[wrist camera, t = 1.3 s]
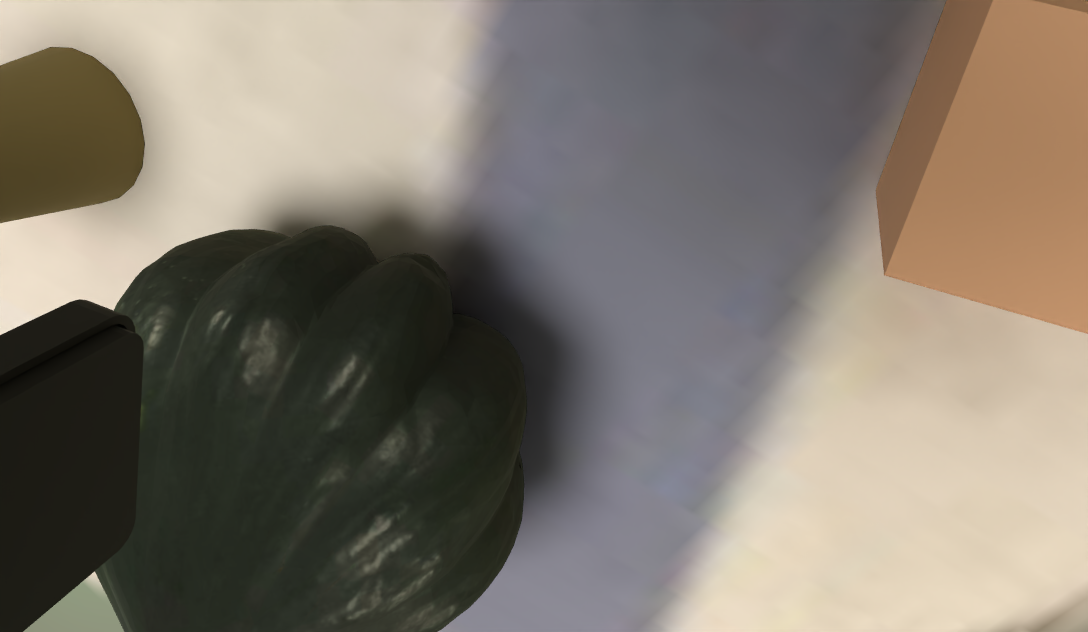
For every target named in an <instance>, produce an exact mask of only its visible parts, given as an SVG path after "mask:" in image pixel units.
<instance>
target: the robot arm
mask: <svg viewBox="0 0 1088 632" xmlns="http://www.w3.org/2000/svg"><path fill="white" fill-rule="evenodd" d="M143 355H144V345H143V340H142V338H141V336H140V335H138V334H137V333H136V331H135V325H134V323H133V321H132V320H131V319H130V318H129V317H128V316H126V315H123V314H121V313H118V312H116V311H113V310H110V309H108V308H105V307H103V306H100V305H97V304H95V303H92V302H90V301H87V300H80V299H79V300H75V301H72V302H69V303H67V304H65V305H63V306H61V307H59V308H57V309H55V310H52V311H50V312H48V313H46V314H44V315H42V316H40V317H38V318H36V319H33V320H31V321H29V322H27V323H25V324H23V325H21V326H19V327H17V328H14V329H12V330H10V331H8V332H6V333H4V334H2V335H0V632H23V631H24V630H25V629H27V628H28V627H29V626H30V625H31V624H33V623H34V622H35V621H36V620H37V619H38V618H40V617H41V616H42V615H43V614H44V613H46V612H47V611H48V610H49V609H50V608H52V607H53V606H54V605H55V604H56V603H57V602H58V601H60V600H61V599H62V598H63V597H65V596H66V595H67V594H68V593H69V592H70V591H72V590H73V589H74V588H75V587H76V586H78V585H79V584H80V583H81V582H82V581H83V580H85V579H86V578H87V577H88V576H89V575H91V574H92V573H93V572H94V571H95V570H97V569H98V568H99V567H100V566H101V565H102V564H104V563H105V562H106V561H107V560H108V559H110V558H111V557H112V556H113V555H114V554H115V553H117V552H118V551H119V550H120V549H121V548H122V547H123V545H124V544H125V543H126V541H127V540H128V538H129V536H130V534H131V533H132V530H133V527H134V524H135V519H136V500H137V479H138V458H139V438H140V417H141V396H142V376H143Z"/></svg>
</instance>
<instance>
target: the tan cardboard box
mask: <svg viewBox="0 0 1088 632" xmlns="http://www.w3.org/2000/svg"><path fill="white" fill-rule="evenodd" d="M876 198H877V208H878V218H879V227H880V237H881V247H882V257H883V267H884V275H886V276H889V277H893V278H896V279H899V280H903V281H906V282H910V283H913V284H917V285H920V286H924V287H927V288H931V289H934V290H938V291H941V292H945V293H948V294H952V295H955V296H959V297H962V298H965V299H969V300H972V301H976V302H979V303H983V304H986V305H990V306H993V307H997V308H1000V309H1004V310H1007V311H1011V312H1014V313H1018V314H1021V315H1025V316H1028V317H1031V318H1035V319H1038V320H1042V321H1045V322H1049V323H1052V324H1056V325H1059V326H1063V327H1066V328H1070V329H1073V330H1077V331H1080V332H1084V333H1087V334H1088V1H1084V0H947V1H946V4H945V6H944V9H943V12H942V14H941V17H940V20H939V22H938V25H937V28H936V30H935V33H934V36H933V38H932V41H931V44H930V46H929V49H928V52H927V54H926V57H925V60H924V62H923V65H922V68H921V70H920V73H919V76H918V78H917V81H916V84H915V86H914V89H913V92H912V94H911V97H910V100H909V102H908V105H907V108H906V110H905V113H904V116H903V118H902V121H901V124H900V126H899V129H898V132H897V134H896V137H895V140H894V142H893V145H892V148H891V150H890V153H889V156H888V158H887V161H886V164H885V167H884V169H883V172H882V175H881V177H880V180H879V183H878V185H877V188H876Z"/></svg>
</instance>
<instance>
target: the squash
mask: <svg viewBox="0 0 1088 632" xmlns="http://www.w3.org/2000/svg"><path fill="white" fill-rule="evenodd" d="M114 311H116V312H118V313H121V314H123V315H126V316H128V317H129V318H130V319H131V320H132V321H133V323H134V325H135V331H136V333H137V334H138V335H140V336H141V338H142V340H143V345H144V355H143V376H142V396H141V417H140V438H139V458H138V479H137V500H136V519H135V524H134V527H133V530H132V533H131V534H130V536H129V538H128V540H127V541H126V543H125V544H124V545H123V547H122V548H121V549H120V550H119V551H118V552H117V553H115V554H114V555H113V556H112V557H111V558H110V559H108V560H107V561H106V562H105V563H104V564H102V565H101V566H100V567H99V568H98V569H97V570H95V572H96V574H97V576H98V579H99V581H100V583H101V585H102V587H103V589H104V591H105V593H106V594H107V596H108V598H109V601H110V603H111V605H112V607H113V609H114V611H115V613H116V615H117V617H118V619H119V621H120V623H121V626H122V628H123V629H124V632H437V631H439V630H441V629H443V628H444V627H445V626H446V625H448V624H449V623H450V622H451V621H452V620H454V619H455V618H456V617H457V616H459V615H460V614H461V613H463V612H464V611H465V610H467V609H468V608H469V607H470V606H471V605H472V604H473V603H474V602H475V601H476V600H477V599H478V598H479V597H480V596H481V595H482V594H483V593H484V592H485V590H486V589H487V588H488V587H489V585H490V584H491V583H492V581H493V580H494V579H495V577H496V576H497V575H498V573H499V572H500V571H501V569H502V568H503V566H504V564H505V562H506V560H507V558H508V556H509V554H510V552H511V550H512V548H513V546H514V543H515V540H516V537H517V534H518V531H519V528H520V524H521V521H522V512H523V500H524V475H523V466H522V460H521V456H520V453H519V449H520V446H521V442H522V437H523V432H524V427H525V421H526V412H527V396H526V387H525V379H524V370H523V365H522V362H521V360H520V358H519V356H518V354H517V352H516V350H515V349H514V347H513V346H512V345H511V343H510V342H509V341H508V339H506V338H505V337H504V336H503V335H502V334H501V333H500V332H498V331H497V330H495V329H493V328H492V327H490V326H489V325H487V324H485V323H483V322H481V321H480V320H478V319H475V318H472V317H468V316H465V315H462V314H453V304H452V297H451V291H450V287H449V283H448V280H447V277H446V273H445V272H444V271H443V270H442V269H441V268H440V267H439V265H438V264H437V263H436V262H435V261H434V260H433V259H432V258H430V257H429V256H428V255H424V254H411V253H405V254H401V255H397V256H393V257H391V258H389V259H387V260H385V261H382V262H380V263H378V261H377V260H376V258H375V256H374V254H373V253H372V251H371V250H370V248H369V247H368V245H367V243H366V242H365V241H364V240H362V239H361V238H360V237H359V236H358V235H356V234H354V233H352V232H350V231H347V230H345V229H343V228H339V227H335V226H319V227H314V228H311V229H308V230H306V231H304V232H302V233H300V234H298V235H296V236H294V237H292V238H290V237H288V236H285V235H283V234H280V233H276V232H271V231H265V230H257V229H248V230H228V231H224V232H220V233H216V234H212V235H208V236H205V237H202V238H198V239H195V240H192V241H190V242H187V243H184V244H181V245H179V246H176V247H175V248H173V249H171V250H170V251H168V252H167V253H166V254H164V255H163V256H162V257H161V258H159V259H158V260H157V261H155V262H154V263H152V264H151V265H149V266H148V267H146V268H145V269H143V270H142V271H141V272H140V273H139V275H138V276H137V277H136V278H135V279H134V280H133V282H132V283H131V285H130V286H129V288H128V289H127V290H126V292H125V293H124V295H123V296H122V297H121V299H120V300H119V302H118V303H117V305H116V307H115V309H114Z"/></svg>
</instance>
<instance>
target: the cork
mask: <svg viewBox="0 0 1088 632" xmlns="http://www.w3.org/2000/svg"><path fill="white" fill-rule="evenodd" d="M144 145H145V144H144V138H143V132H142V127H141V121H140V118H139V115H138V113H137V111H136V109H135V106H134V104H133V102H132V99H131V97H130V95H129V93H128V92H127V91H126V89H125V88H124V87H123V86H122V84H121V83H120V82H119V80H118V79H117V78H116V76H115V75H114V74H113V73H112V72H111V71H110V70H109V69H107V68H106V67H105V66H104V65H102V64H101V63H100V62H99V61H98V60H96V59H95V58H94V57H92V56H90V55H87V54H85V53H82V52H80V51H78V50H75V49H73V48H59V47H50V48H47V49H44V50H42V51H39V52H36V53H33V54H31V55H28V56H25V57H22V58H20V59H17V60H14V61H11V62H9V63H6V64H3V65H1V66H0V223H3V222H8V221H13V220H18V219H23V218H28V217H33V216H38V215H43V214H48V213H54V212H59V211H64V210H69V209H74V208H79V207H84V206H89V205H94V204H99V203H103V202H107V201H110V200H113V199H116V198H120V197H121V196H122V195H123V194H124V193H125V192H126V191H127V190H129V189H130V188H131V187H132V186H133V185H134V183H135V181H136V179H137V177H138V175H139V172H140V170H141V168H142V163H143V154H144Z"/></svg>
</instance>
